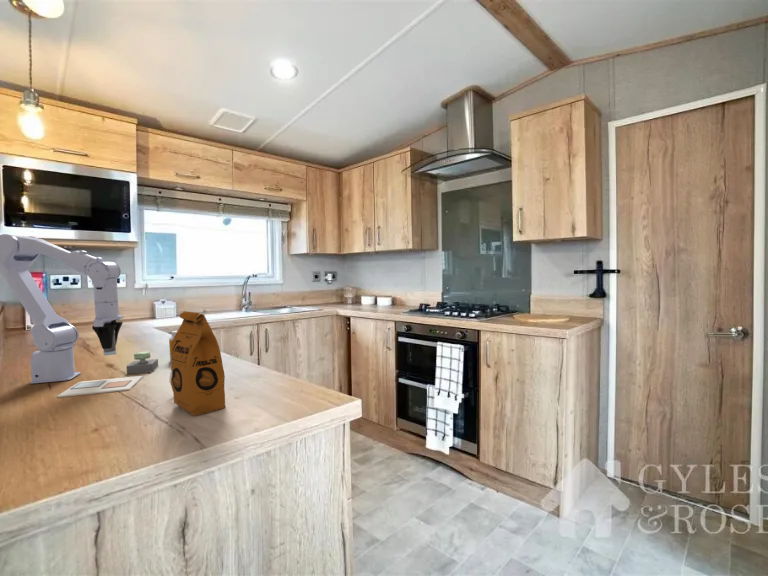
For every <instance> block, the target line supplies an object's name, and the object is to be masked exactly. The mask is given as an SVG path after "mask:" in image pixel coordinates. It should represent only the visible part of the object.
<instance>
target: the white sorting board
mask: <svg viewBox="0 0 768 576" xmlns="http://www.w3.org/2000/svg"><path fill="white" fill-rule="evenodd" d="M144 377H145V376H144V375H137V376H136V375H135V376H126V377H115V378H105V379H96V380H94V379H93V380H86V381H85V380H84V381H83V380H82V381H78V382H77V383H75V384H73V385H72V386H70V387H69V388H67V389H66V390H64V391H63V392H61V393H60V394H58V395H57V396H56V398H65V397H66V398H67V397H73V396H74V397H75V396H76V397H77V396H84V395H95V394H104V393H112V392H113V393H115V392H124V391H130V390H131V389H132V388H134V387H135V386H136V385H137V384H138V383H139V382H140V381H141V380H143V379H144Z"/></svg>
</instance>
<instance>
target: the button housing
mask: <svg viewBox="0 0 768 576" xmlns="http://www.w3.org/2000/svg"><path fill="white" fill-rule="evenodd" d="M158 367H159V359H158V358H153V359H152V358H151V359H146V363H140V360H133V361H132V362H130V363H129V364H127V365H126V374H127V375H129V374H140V373H150V372H154V371H155V370H156V369H157V368H158Z"/></svg>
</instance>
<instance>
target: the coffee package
mask: <svg viewBox="0 0 768 576" xmlns="http://www.w3.org/2000/svg"><path fill="white" fill-rule="evenodd" d="M179 318H180V319H182V322H181V324H180V326H179V328H178V329H177V330H176V331H177V333H176V335H175V337H174V339H173V341H172V343H171V360H170V363H171V364H170V365H171V366H170V367H171V371H172V378H171V384H170V386H171V389H172V392H173V404H175V405H176V406H177V407H180V408H181V409H182V410H184V411H185V412H187V413H188V414H191V415H193V416H194V417H197V416H199V415H201V414H202V415H203V414H204V415H205V414H209V413H212V412H216V411H220V410H223V409H226V393H225V378H226V377H225V370H224V366H223V358H222V354H221V349H220V346H219V343H218V340H217V337H216V335H215V334H214V332H213V330H212V327H211V326H210V324H209V322H208V321H207V318H206V316H205V314H204V313H200V312H194V311H186V310H184V311H182V312H180V314H179Z"/></svg>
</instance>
